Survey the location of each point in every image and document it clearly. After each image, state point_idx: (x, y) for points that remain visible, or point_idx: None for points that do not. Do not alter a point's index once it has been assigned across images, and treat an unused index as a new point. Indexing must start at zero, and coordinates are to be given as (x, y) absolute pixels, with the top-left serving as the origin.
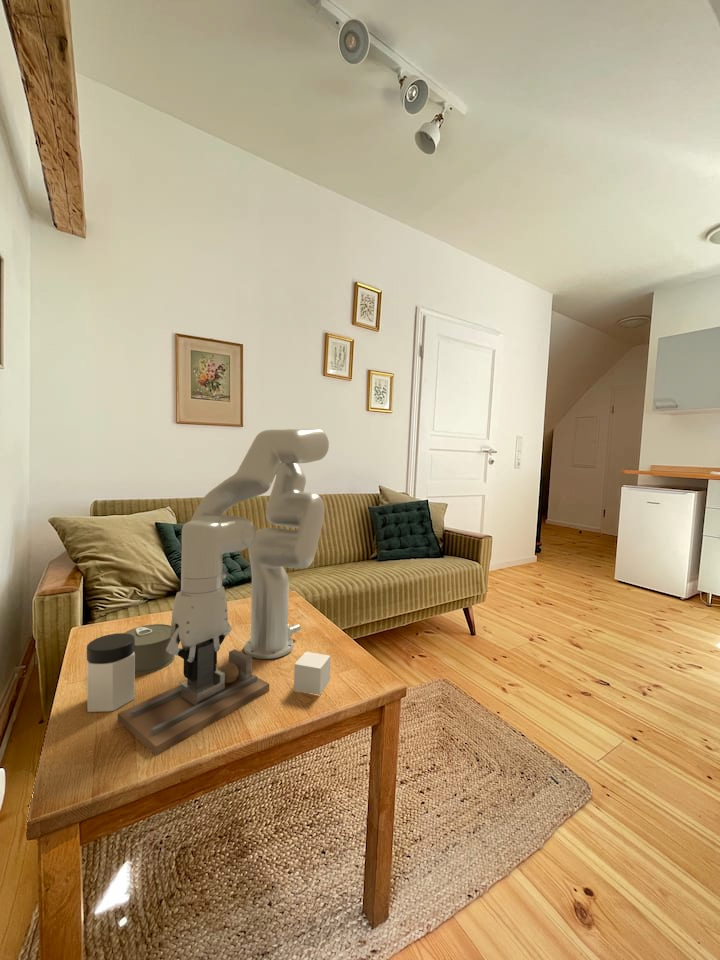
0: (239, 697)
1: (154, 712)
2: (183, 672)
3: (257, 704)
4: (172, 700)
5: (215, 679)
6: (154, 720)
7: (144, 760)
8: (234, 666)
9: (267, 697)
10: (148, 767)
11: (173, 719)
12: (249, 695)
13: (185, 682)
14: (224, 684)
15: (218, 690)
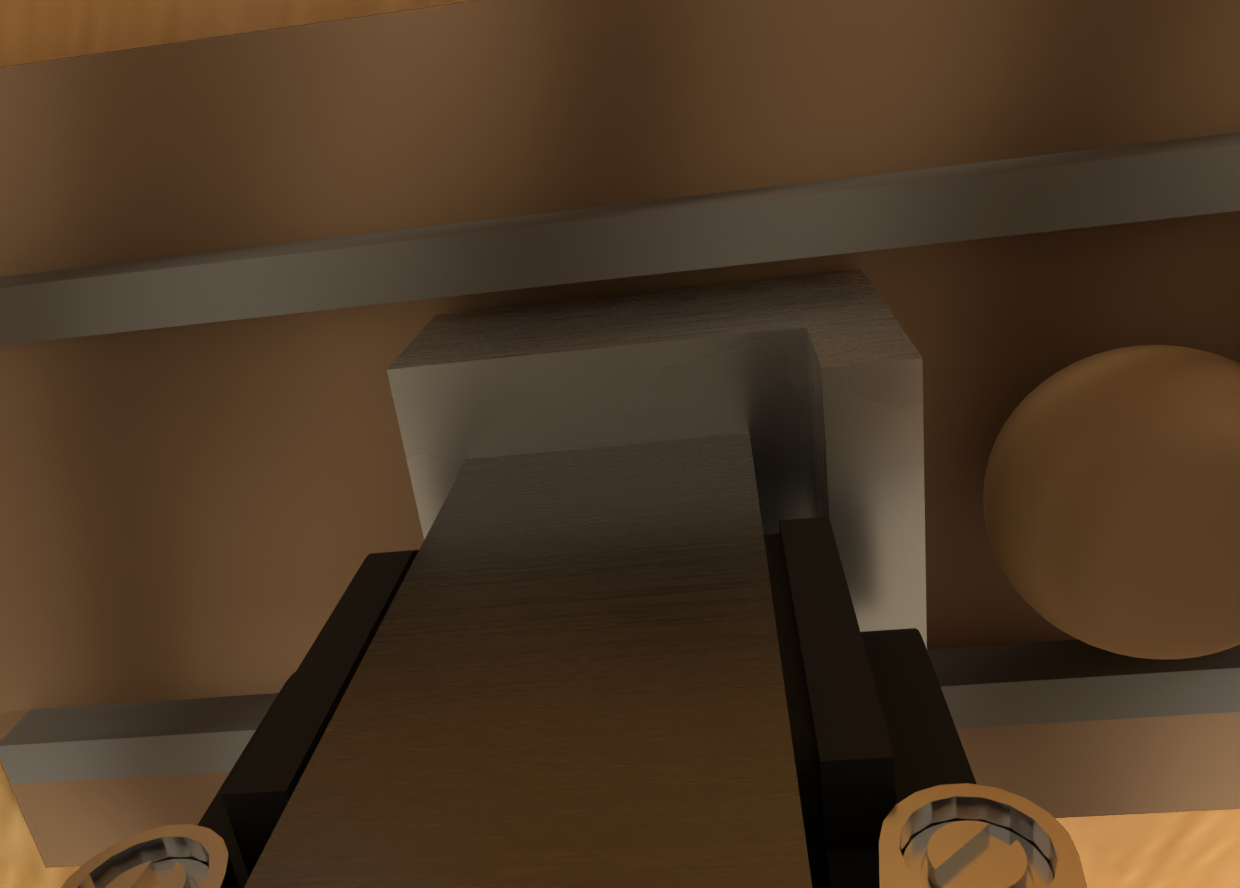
0: None
1: (105, 411)
2: (286, 681)
3: None
4: (340, 315)
5: None
6: (86, 543)
7: (10, 800)
8: (1237, 642)
9: (1213, 817)
10: (28, 874)
11: (205, 765)
12: (1056, 812)
13: (459, 406)
14: None
15: None
